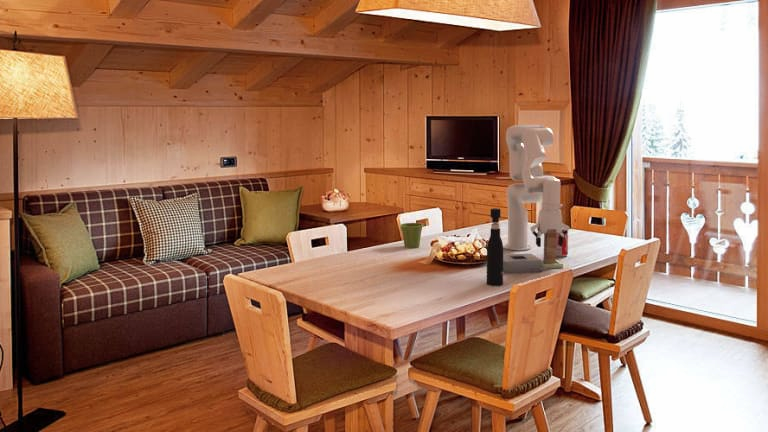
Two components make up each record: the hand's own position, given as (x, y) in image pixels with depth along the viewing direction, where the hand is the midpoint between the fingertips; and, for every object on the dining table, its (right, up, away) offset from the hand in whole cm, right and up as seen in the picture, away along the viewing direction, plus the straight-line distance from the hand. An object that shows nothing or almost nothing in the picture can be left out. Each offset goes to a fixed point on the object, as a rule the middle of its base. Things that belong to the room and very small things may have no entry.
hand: (549, 245), depth 328 cm
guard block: (-14, -10, -4) cm, 18 cm away
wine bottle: (-28, -14, -30) cm, 43 cm away
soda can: (+10, -6, +22) cm, 25 cm away
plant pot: (-58, -3, +46) cm, 74 cm away
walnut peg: (0, -8, +1) cm, 8 cm away
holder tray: (0, -9, +1) cm, 9 cm away
